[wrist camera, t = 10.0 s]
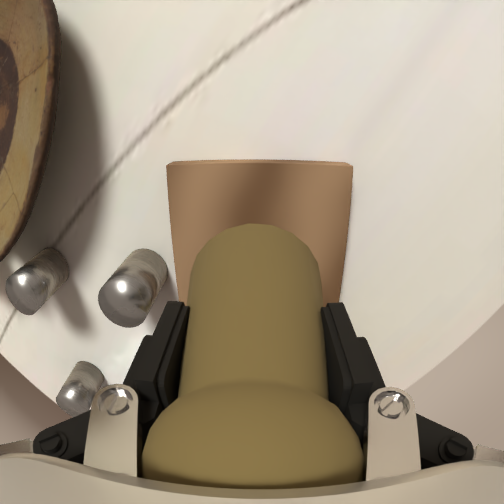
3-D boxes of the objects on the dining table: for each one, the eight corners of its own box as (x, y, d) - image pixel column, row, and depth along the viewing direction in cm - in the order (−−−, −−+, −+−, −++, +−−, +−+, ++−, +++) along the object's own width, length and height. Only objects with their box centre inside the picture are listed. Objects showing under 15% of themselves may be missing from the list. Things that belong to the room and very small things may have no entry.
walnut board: (346, 162, 17) (353, 166, 16) (331, 310, 21) (335, 322, 20) (173, 161, 18) (166, 165, 16) (186, 308, 22) (182, 321, 20)
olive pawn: (275, 354, 16) (285, 562, 6) (170, 304, 15) (89, 519, 5) (346, 265, 14) (452, 492, 4) (229, 197, 13) (150, 444, 3)
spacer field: (164, 248, 20) (142, 282, 16) (193, 416, 27) (185, 455, 22) (35, 248, 20) (0, 274, 16) (91, 401, 27) (75, 433, 23)
